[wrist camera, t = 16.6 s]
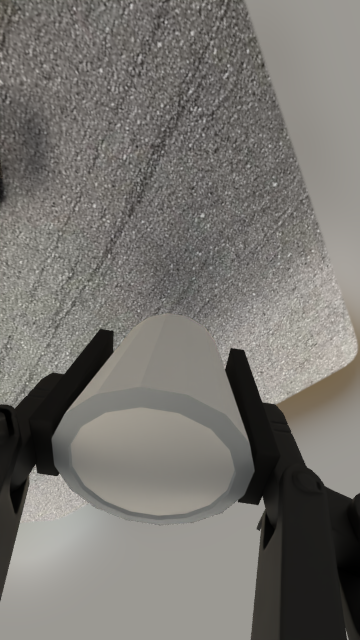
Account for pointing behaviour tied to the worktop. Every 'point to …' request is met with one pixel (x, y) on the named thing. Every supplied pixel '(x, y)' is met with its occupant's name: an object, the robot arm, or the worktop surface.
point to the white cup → (157, 429)
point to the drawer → (1, 171)
